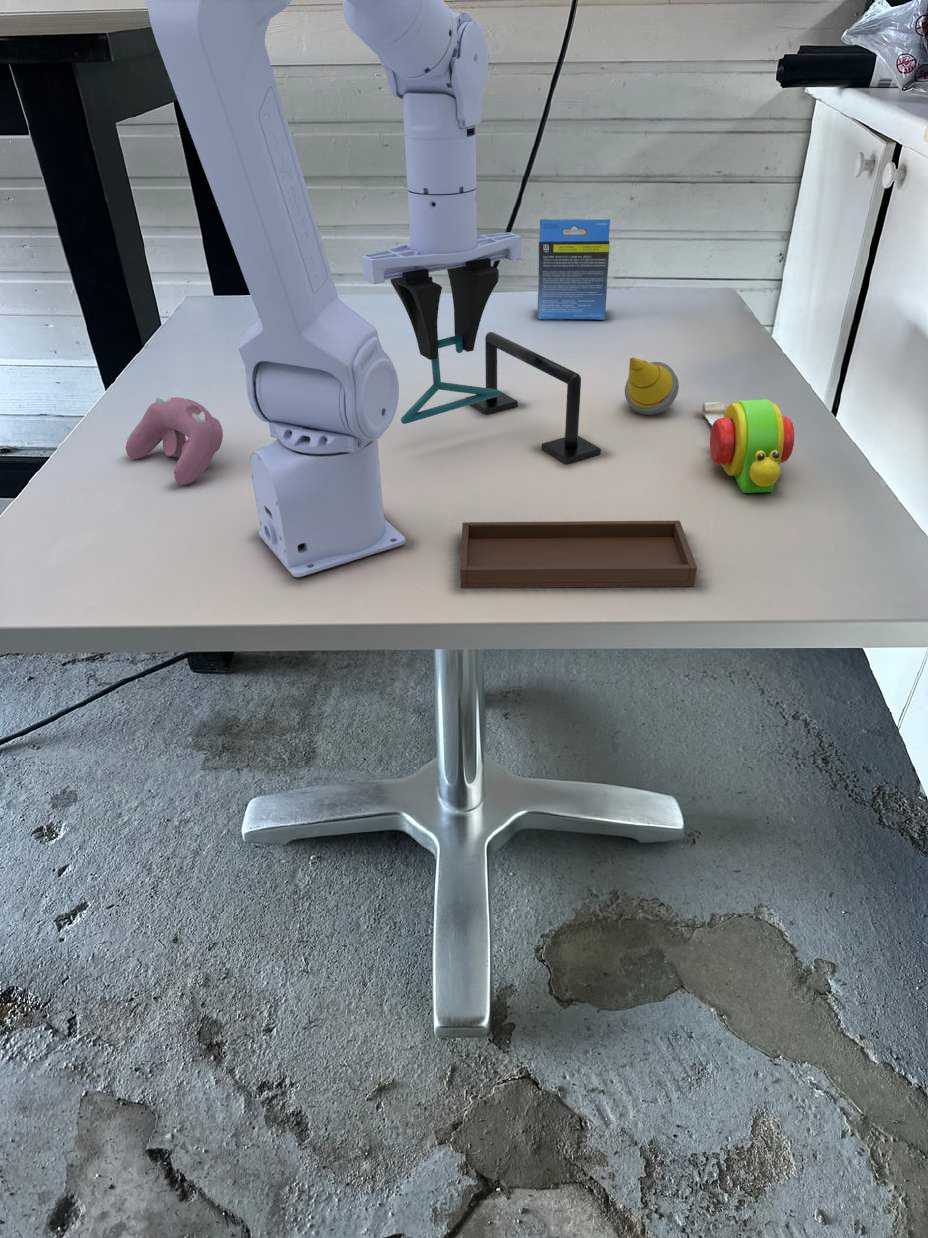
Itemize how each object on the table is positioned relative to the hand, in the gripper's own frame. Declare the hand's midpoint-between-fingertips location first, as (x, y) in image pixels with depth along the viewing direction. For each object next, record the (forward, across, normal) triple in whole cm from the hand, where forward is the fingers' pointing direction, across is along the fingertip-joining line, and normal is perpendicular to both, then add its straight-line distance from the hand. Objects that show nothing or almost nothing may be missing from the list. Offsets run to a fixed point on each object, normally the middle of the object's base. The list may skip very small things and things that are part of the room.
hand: (447, 352), depth 81 cm
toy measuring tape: (+9, -21, +17) cm, 28 cm away
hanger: (+6, 0, 0) cm, 6 cm away
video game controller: (+9, +24, -10) cm, 27 cm away
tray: (+9, +3, +24) cm, 26 cm away
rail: (+9, -8, +1) cm, 12 cm away
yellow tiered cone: (+9, -20, +5) cm, 23 cm away
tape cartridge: (+9, -33, -26) cm, 43 cm away
